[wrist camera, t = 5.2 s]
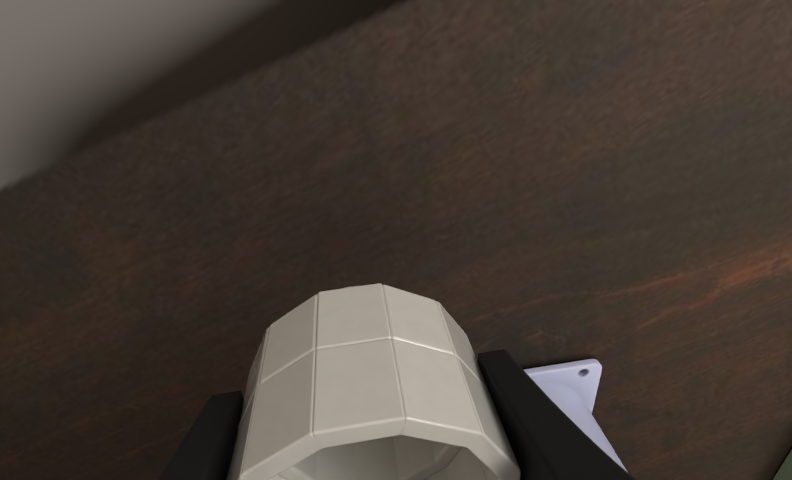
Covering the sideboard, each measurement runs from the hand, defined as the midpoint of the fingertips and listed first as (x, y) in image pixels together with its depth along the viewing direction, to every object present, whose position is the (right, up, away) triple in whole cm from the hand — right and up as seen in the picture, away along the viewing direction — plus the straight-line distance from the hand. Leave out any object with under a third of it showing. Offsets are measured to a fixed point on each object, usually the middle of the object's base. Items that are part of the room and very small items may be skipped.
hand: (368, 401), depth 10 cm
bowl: (0, +1, +1) cm, 1 cm away
